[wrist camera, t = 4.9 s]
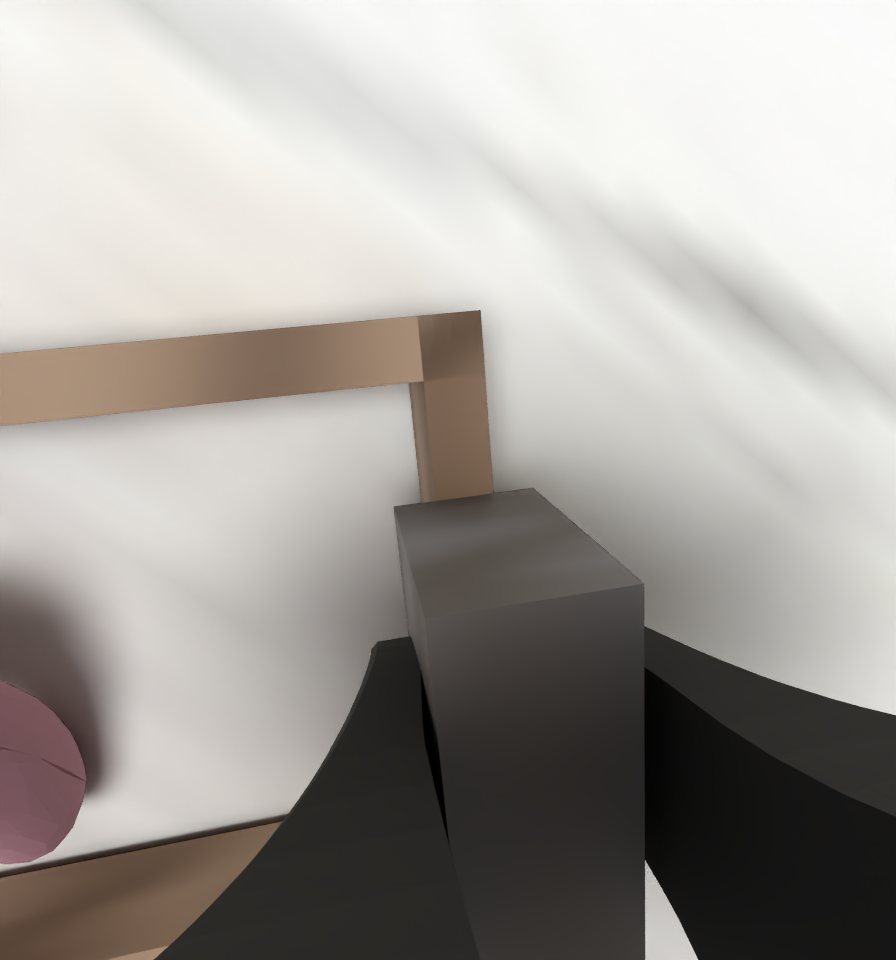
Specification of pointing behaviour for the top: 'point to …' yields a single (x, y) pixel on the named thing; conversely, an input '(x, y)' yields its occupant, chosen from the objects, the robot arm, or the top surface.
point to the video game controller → (35, 778)
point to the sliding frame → (440, 651)
